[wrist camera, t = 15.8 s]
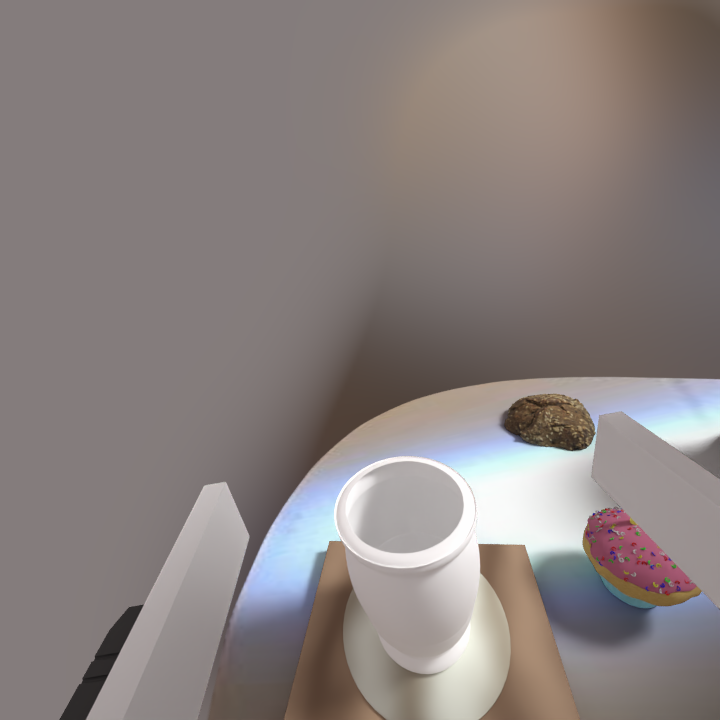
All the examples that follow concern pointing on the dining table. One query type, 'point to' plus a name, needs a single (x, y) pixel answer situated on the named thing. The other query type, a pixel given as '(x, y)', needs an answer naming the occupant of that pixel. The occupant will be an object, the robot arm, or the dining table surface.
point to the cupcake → (634, 562)
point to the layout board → (443, 689)
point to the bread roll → (551, 421)
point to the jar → (413, 557)
